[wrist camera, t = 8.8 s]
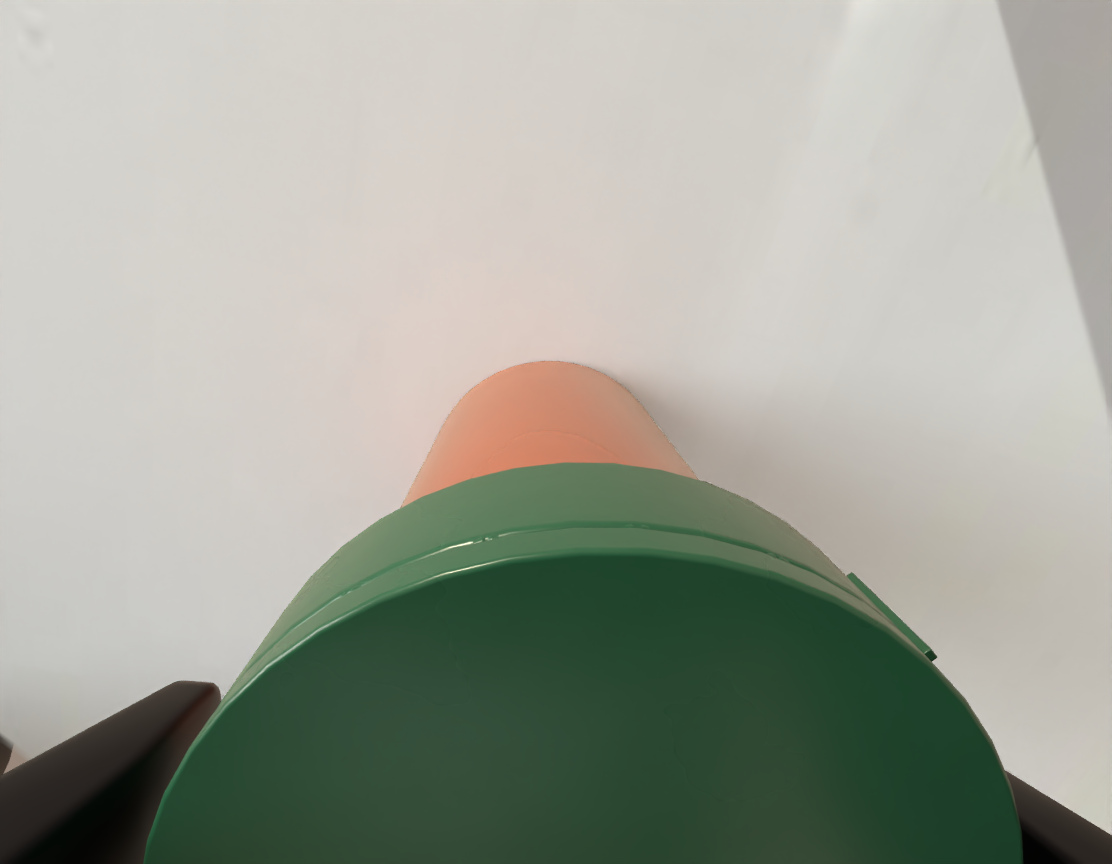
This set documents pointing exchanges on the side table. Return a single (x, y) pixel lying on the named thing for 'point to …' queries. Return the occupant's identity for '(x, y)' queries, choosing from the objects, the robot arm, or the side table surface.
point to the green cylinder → (588, 698)
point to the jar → (544, 427)
